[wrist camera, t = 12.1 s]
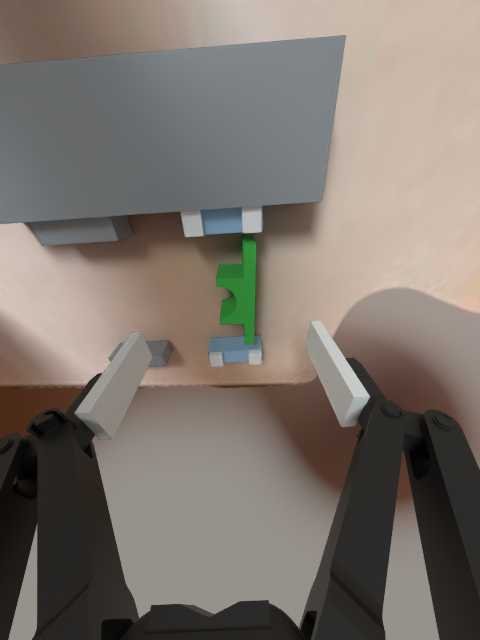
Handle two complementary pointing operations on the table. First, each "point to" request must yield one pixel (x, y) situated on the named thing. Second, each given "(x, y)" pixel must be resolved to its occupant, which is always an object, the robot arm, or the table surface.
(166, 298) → the table surface
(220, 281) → the pipe clamp
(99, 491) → the robot arm
